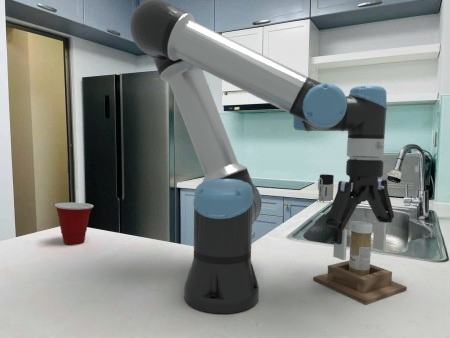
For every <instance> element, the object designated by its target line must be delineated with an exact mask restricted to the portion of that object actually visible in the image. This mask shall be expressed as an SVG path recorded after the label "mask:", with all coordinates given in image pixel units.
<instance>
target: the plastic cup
mask: <svg viewBox="0 0 450 338" xmlns="http://www.w3.org/2000/svg"><path fill="white" fill-rule="evenodd" d="M54 206H55V207H56V212H57V216H58V221H59V227H60V233H61V236H62V242H63V244H64V245H66V246H76V245H81V244H84V243H85V240H86V236H87V235H86V233H87V230H88V223H89V220H90V214H91V213H92V212H91V211H92V209H93V208H94V205H93V204H91V203H86V202H85V203H84V202H58V203H55V204H54Z"/></svg>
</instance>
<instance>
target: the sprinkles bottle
mask: <svg viewBox="0 0 450 338" xmlns="http://www.w3.org/2000/svg"><path fill="white" fill-rule="evenodd" d="M349 230H350V233H351V234H350V246H349V260H348V261H349V271H350V272H353V273H356V274H358V275H361V276H365V275H369V269H370V264H371V256H372V255H371V251H372V235H373V234H372V233H373V224H372V223H371V222H368V221H363V220H353V221H351V222H350V229H349Z"/></svg>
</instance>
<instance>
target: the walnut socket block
mask: <svg viewBox="0 0 450 338" xmlns="http://www.w3.org/2000/svg"><path fill="white" fill-rule="evenodd" d="M392 277H393V271H391V270H388V269H385V268H382V267H380V266H377V265H374V264H371V263H370V269H369V275H365V276H361V275H358V274H356V273H353V272H350V271H349V260H344V261H342V262H341V261H340V262H337V263H332V264H329V265H327V273H323V274H320V275H316V276H315V275H314V276H313V277H312V280H313V281H314V282H317V283H318V284H320V285H322V286H325V287H327V288H329V289H331V290H334V291H335V292H336V293H337V292H338V293H340V294H341V295H344V296H347V298H348V297H349V298H351V299H352V300H355V301H358V302H360V303H361V304H364V305H366V306H367V305H368V304H372V303H374V302H377V301H380V300H383V299H386V298H389V297H392V296H394V295H398V294H400V293H403V292H406V291H407V289H408V288H407V286H406V285H403V284H400V283H399V282H396V281H393V278H392Z"/></svg>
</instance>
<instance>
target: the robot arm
mask: <svg viewBox="0 0 450 338" xmlns="http://www.w3.org/2000/svg"><path fill="white" fill-rule="evenodd" d="M129 23H130V24H129V26H130V27H129V29H130V34H131V38H132V39H133V42H134V43H135V44H136V46H137V47H138V48H139V49H140V50H141V51H142V52H143V53H145V54H146V55H148V56H150V57H151V58H152V60H153V62H154V64H155V67H156V71H157V72H158V75H159V77H160V80H162V81H164V82H166V83H168V84H169V86H170V88H171V91H172V94H173V96H174V99H175V102H176V105H177V107H178V110H179V112H180V114H181V118H182V119H183V122H184V125H185V127H186V131H187V133H188V136H189V139H190V141H191V143H192V146H193V149H194V151H195V155H196V157H197V159H198V161H199V165H200V166H201V167H200V168H201V170H202V172H203V174H204V177H203V179H202V182H201V183H199V184H198V185H197V186H196V188H195V190H194V197H193V202H192V204H193V205H192V206H193V209H194V210H193V259H192V263H191V265H190V269H189V272H188V274H187V277H186V281H185V283H184V291H183V292H184V293H183V294H184V295H183V296H184V297H183V298H184V300H185V302H186V303H187V304H188V305H189V306H191V307H192V308H194V309H196V310H199V311H201V312H207V313H214V314H232V313H233V314H234V313H239V312H242V311H247V310H249V309H251V308H253V307H254V306H255V305H256V304H257V303H258V302H259V297H260V296H259V295H260V294H259V293H260V289H259V288H260V287H259V283H258V280H257V277H256V276H257V275H256V273H255V269H254V266H253V262H252V236H253V235H252V234H253V233H252V231H253V224H254V223H255V222H256V221H257V219H258V218H259V215H260V213H261V210H262V204H263V203H262V196H261V193H260V191H259V189H258V188H257V186H256V185H255V184H254V183H253V180H252V177H251V175H250V173H249V170H248V168H247V166H246V165H243V164H241V163H239V162H238V159H237V156H236V155H235V152H234V151H235V150H234V149H233V146H232V143H231V141H230V138H229V137H228V134H227V131H226V128H225V126H224V123H223V120H222V117H221V115H220V113H219V110H218V107H217V104H216V102H215V99H214V97H213V94H212V91H211V89H210V86H209V84H208V81H207V78H206V76H205V73H204V72H206V73H208V74H210V75H212V76H214V77H217V78H218V79H220V80H222V81H224V82H226V83H228V84H230V85H232V86H234V87H235V88H238V89H240V90H243V91H244V92H246V93H248V94H250V95H252V96H253V97H256V98H258V99H260V100H262V101H265V102H266V103H268V104H270V105H271V106H274V107H276V108H278V109H280V110H282V111H284V112H286V113H288V114H290V115H291V116H293V128H294V130H296V131H305V132H347V141H346V142H347V143H346V144H347V145H346V157H349V158H348V159H347V160H346V166H345V167H346V168H345V174H346V175H347V176H348V177H349V180H348V181H345V180H343V181H342V180H340V181H338V183H337V184H338V185H337V192H336V194H335V197H334V198H333V201H334V202H333V203H331V204H332V205H331V207H330V210H329V212H328V215H327V218H326V220H325V224H326V226H329V227H331V228H332V230H333V231H332V243H333V252H332V253H333V255H332V256H333V258H336V259H338V260H342V261H347V244H348V242H347V241H348V229H347V228H346V225H347V223H349V221H350V219H351V217H352V215H353V213H354V212H355V210H356V209H357V207H358V205H361V204H362V203H363V202H364V203H365V202H367V203H368V205H369V206H370V210H372V211H371V212H372V213H373V215H374V217H375V218H376V220H373V234H372V235H373V236H372V237H373V238H372V239H373V240H372V248H373V249H375V250H379V251H382V252H385V251H386V243H387V242H386V241H387V232H388V229H387V228H388V223H393V219H395V213H394V209H393V205H392V202H391V198H390V194H389V191H388V180H387V179H380V178H382V177H383V176H384V161H383V159H382V160H381V158H384V156H385V155H384V154H385V152H384V151H385V134H386V121H387V120H386V118H387V110H388V107H387V104H388V103H387V102H388V101H387V90H386V89H385V88H384V87H383V86H380V85H360V86H355V87H352V88H351V89H349V94H348V95H347V96H346V93H345V92H344V91H343V89H341V87H339V86H337V85H335V84H333V83H322V82H320V81H318V80H315V79H313V78H311V77H309V76H307V75H305V74H303V73H301V72H298V71H297V70H296V69H293V68H291V67H288V66H286V65H284V64H283V63H281V62H279V61H276V60H274V59H272V58H270V57H268V56H265V54H262V53H260V52H257V51H255V50H253V49H251V48H249V47H247V46H245V45H243V44H241V43H239V42H237V41H235V40H234V39H231V38H228V37H227V36H225V35H223V34H220V33H219V32H216V31H214V30H212V29H210V28H208V27H206V26H204V25H202V24H200V23H198V22H196V19H195V17H194V15H193V14H192V13H191V12H187V11H186V10H183V9H182V8H180V7H177V6H176V5H175V4H173V3H171V2H169V1H168V0H144V1H143V2H141V3H140V4H139V5H138V6H136V8H134V10H133V12H132V15H131V17H130V22H129Z"/></svg>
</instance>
